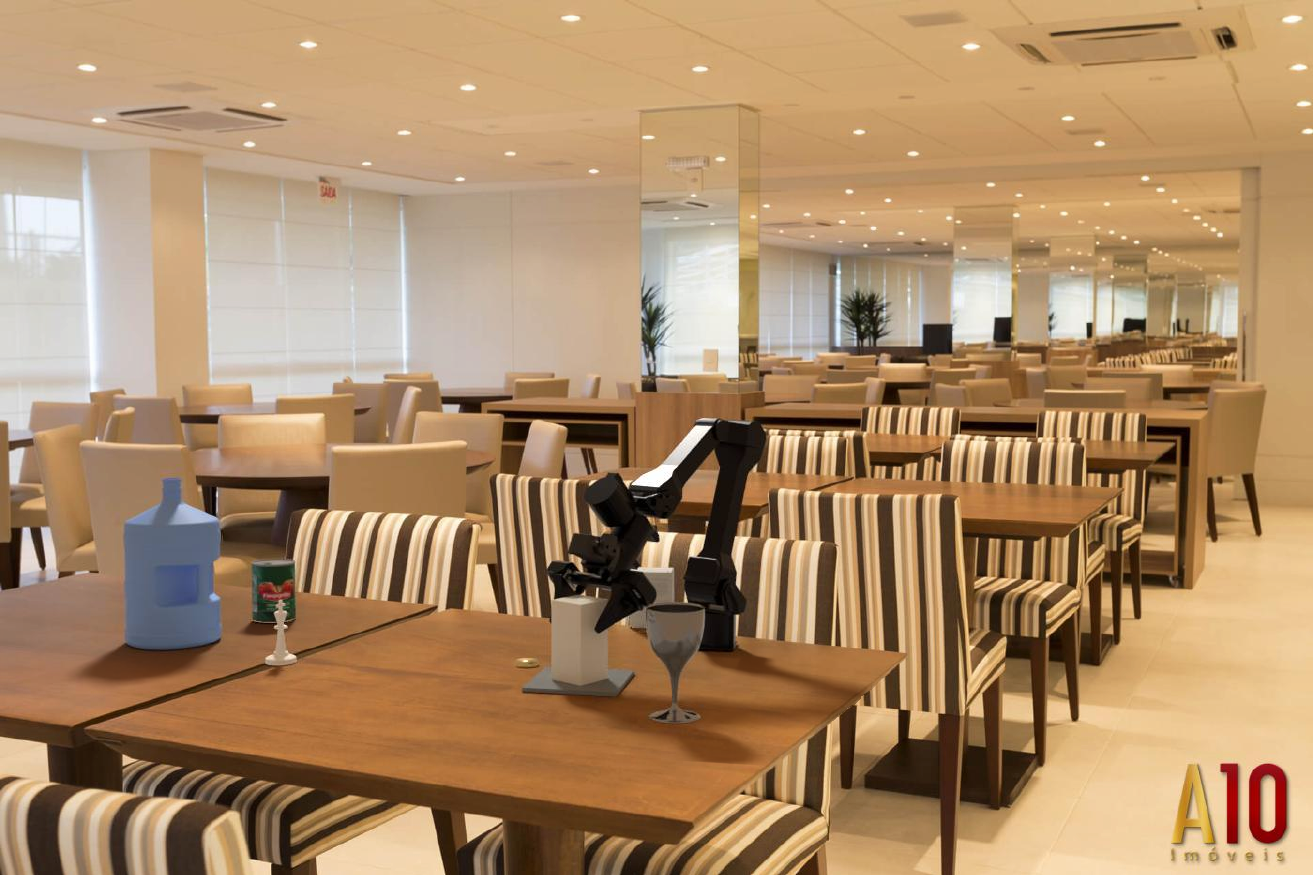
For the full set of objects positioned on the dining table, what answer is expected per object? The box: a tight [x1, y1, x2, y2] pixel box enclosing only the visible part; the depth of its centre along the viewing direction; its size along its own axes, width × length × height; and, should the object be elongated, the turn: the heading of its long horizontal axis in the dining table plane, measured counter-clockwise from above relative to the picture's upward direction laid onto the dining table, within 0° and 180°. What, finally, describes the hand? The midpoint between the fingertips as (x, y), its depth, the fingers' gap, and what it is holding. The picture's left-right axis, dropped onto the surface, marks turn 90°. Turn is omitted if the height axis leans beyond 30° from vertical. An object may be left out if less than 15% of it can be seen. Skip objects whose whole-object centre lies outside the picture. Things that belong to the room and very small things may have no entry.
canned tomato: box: [250, 558, 297, 622], centre depth 242 cm, size 8×8×11 cm
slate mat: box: [521, 665, 635, 698], centre depth 195 cm, size 14×14×1 cm
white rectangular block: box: [550, 594, 609, 686], centre depth 195 cm, size 6×6×12 cm
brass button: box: [515, 657, 539, 668], centre depth 207 cm, size 4×4×1 cm
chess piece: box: [264, 600, 298, 666], centre depth 208 cm, size 5×5×10 cm
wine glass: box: [646, 601, 705, 725], centre depth 176 cm, size 8×8×15 cm
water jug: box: [122, 477, 223, 651], centre depth 222 cm, size 16×16×28 cm
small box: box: [628, 566, 675, 629], centre depth 239 cm, size 8×6×10 cm
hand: (573, 627), depth 194 cm, fingers open, 9 cm apart
